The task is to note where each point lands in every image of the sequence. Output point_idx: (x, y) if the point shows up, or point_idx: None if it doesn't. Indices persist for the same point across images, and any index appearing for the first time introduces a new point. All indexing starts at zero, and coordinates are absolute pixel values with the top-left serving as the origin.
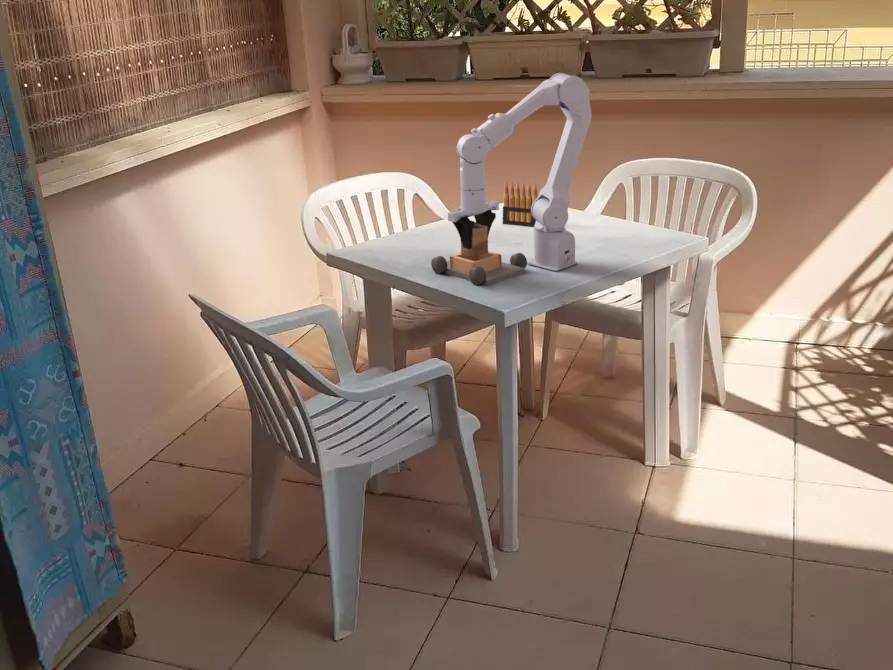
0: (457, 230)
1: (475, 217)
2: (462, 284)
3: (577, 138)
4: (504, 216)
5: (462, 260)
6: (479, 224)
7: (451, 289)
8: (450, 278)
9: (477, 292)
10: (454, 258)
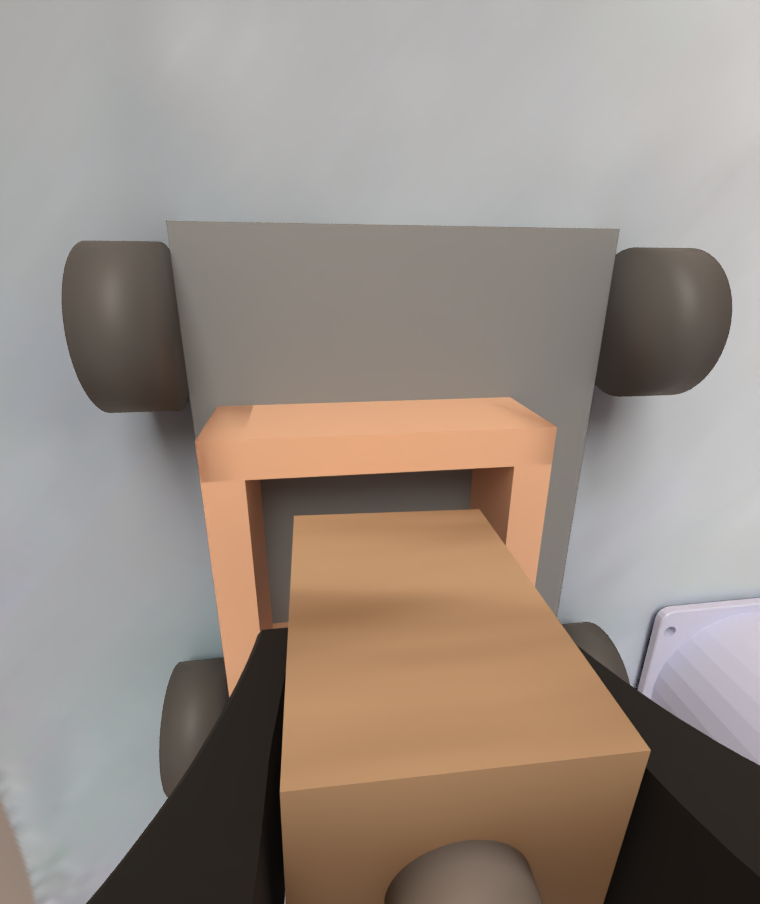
0: (141, 837)
1: (748, 889)
2: (136, 625)
3: None
4: None
5: (216, 599)
6: (609, 855)
7: (16, 650)
8: (147, 484)
9: (120, 764)
10: (206, 500)
